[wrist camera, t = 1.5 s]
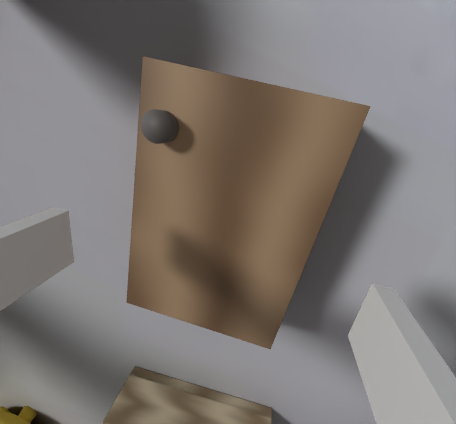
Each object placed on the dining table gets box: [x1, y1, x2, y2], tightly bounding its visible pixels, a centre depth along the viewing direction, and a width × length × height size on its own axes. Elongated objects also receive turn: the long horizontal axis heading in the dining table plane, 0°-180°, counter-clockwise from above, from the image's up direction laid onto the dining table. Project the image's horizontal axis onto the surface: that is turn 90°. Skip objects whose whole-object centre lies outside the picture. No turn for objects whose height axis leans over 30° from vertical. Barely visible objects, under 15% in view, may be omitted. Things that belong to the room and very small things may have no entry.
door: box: [127, 56, 370, 349], centre depth 16 cm, size 11×16×6 cm
